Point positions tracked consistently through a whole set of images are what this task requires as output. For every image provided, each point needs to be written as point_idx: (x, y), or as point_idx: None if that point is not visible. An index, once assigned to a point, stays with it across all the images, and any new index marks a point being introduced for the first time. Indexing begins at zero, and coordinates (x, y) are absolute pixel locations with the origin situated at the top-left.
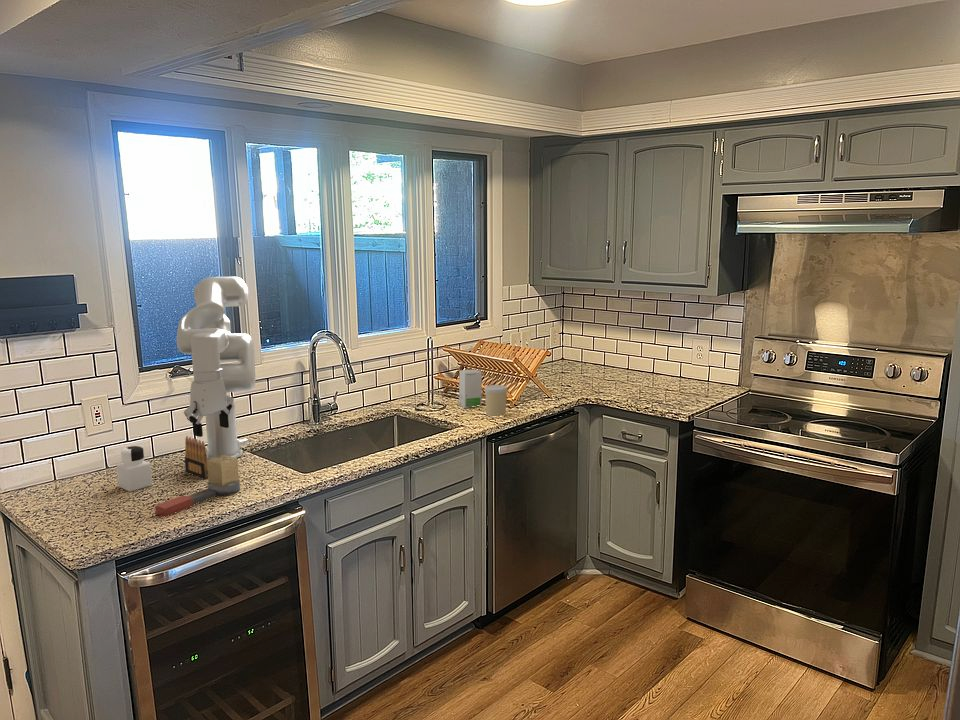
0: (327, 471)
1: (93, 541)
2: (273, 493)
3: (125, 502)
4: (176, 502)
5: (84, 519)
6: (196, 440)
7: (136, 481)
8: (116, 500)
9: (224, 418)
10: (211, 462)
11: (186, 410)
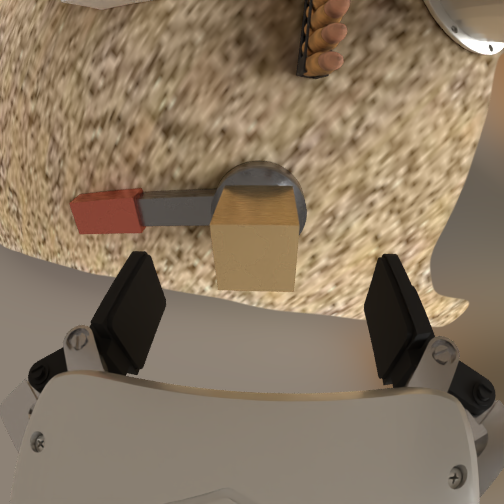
0: (441, 301)
1: (6, 215)
2: (304, 303)
3: (64, 76)
4: (104, 225)
5: (4, 117)
6: (341, 3)
7: (107, 2)
8: (60, 49)
9: (381, 350)
10: (213, 245)
11: (13, 428)
